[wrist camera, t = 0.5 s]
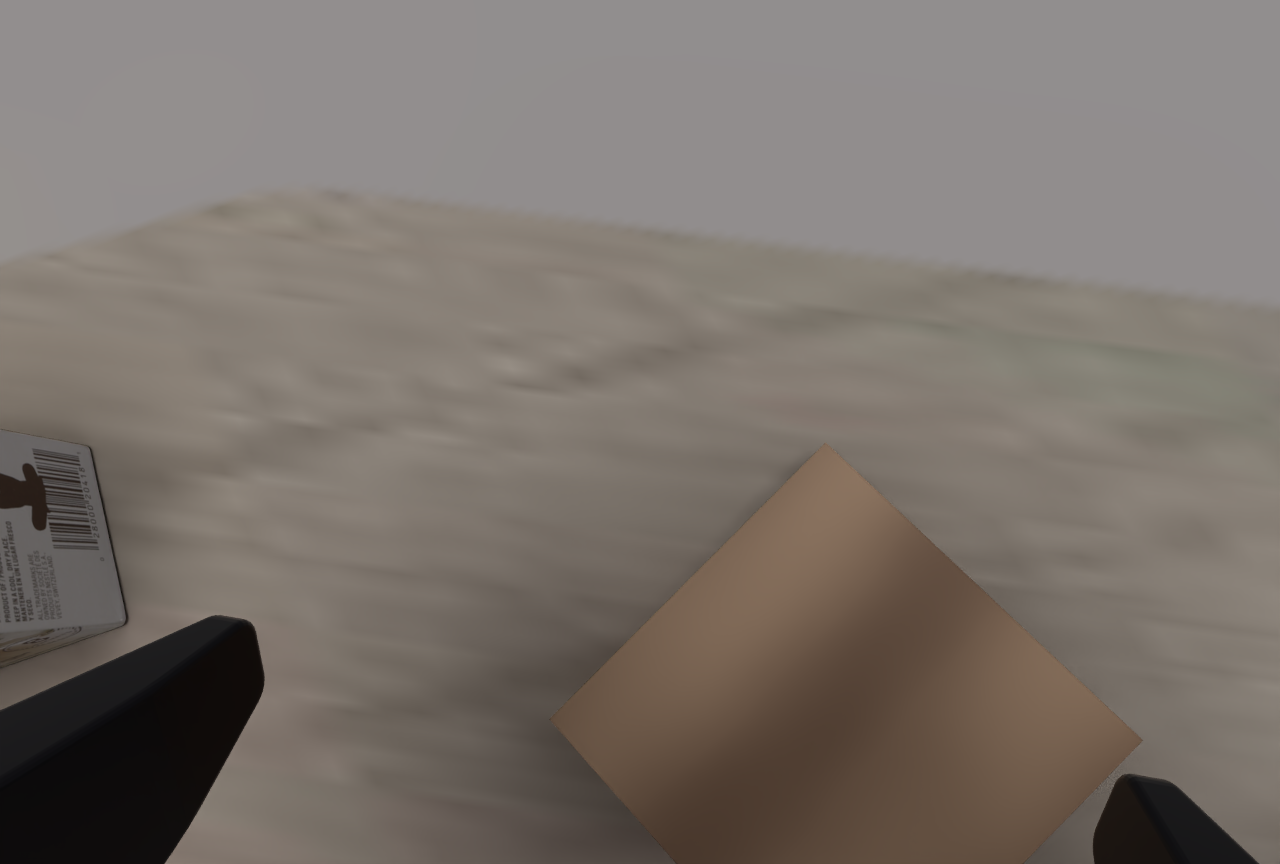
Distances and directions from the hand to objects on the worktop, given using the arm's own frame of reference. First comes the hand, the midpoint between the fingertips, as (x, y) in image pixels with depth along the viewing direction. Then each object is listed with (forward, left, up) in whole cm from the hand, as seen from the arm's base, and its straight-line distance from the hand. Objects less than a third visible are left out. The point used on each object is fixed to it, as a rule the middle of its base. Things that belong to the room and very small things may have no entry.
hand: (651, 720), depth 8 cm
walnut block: (-3, -2, -16) cm, 16 cm away
